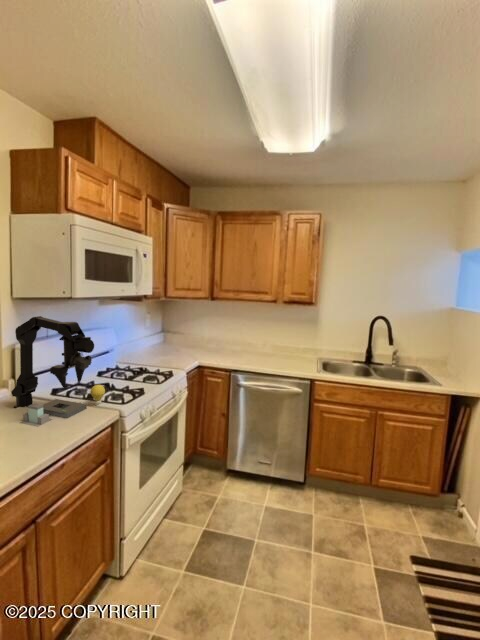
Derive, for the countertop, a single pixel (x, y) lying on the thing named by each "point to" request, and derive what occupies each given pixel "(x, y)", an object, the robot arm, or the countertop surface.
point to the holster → (41, 420)
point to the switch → (68, 408)
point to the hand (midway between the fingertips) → (71, 384)
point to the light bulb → (97, 393)
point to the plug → (35, 412)
